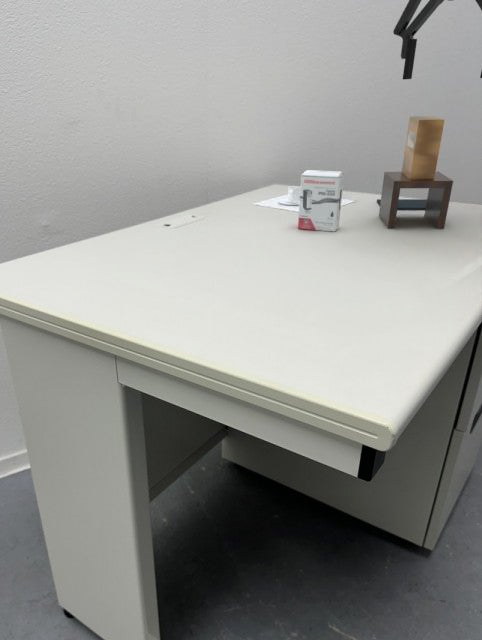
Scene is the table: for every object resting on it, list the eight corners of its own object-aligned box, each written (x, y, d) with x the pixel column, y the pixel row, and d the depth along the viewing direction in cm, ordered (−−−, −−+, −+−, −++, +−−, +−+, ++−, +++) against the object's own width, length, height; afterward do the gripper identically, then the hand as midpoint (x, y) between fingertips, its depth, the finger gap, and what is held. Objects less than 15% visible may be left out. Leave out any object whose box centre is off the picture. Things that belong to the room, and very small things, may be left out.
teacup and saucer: (291, 198, 150) (292, 182, 148) (315, 201, 145) (317, 186, 143) (271, 203, 145) (272, 187, 143) (296, 207, 140) (297, 191, 138)
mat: (431, 201, 142) (432, 199, 142) (441, 210, 134) (442, 207, 133) (376, 201, 144) (376, 199, 144) (383, 210, 135) (383, 207, 135)
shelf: (430, 215, 129) (438, 171, 124) (444, 228, 119) (453, 180, 114) (378, 215, 130) (384, 171, 126) (387, 228, 120) (394, 181, 115)
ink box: (296, 229, 121) (300, 173, 115) (301, 224, 125) (305, 169, 120) (335, 232, 118) (341, 174, 113) (339, 226, 122) (345, 171, 117)
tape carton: (424, 172, 123) (433, 116, 118) (434, 179, 116) (445, 119, 110) (401, 172, 124) (409, 116, 118) (409, 179, 116) (418, 119, 110)
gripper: (385, -61, 93) (370, 80, 104) (552, -88, 80) (515, 77, 90) (401, -55, 98) (385, 79, 109) (560, -79, 85) (524, 76, 95)
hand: (444, 78), depth 99 cm, fingers open, 13 cm apart
